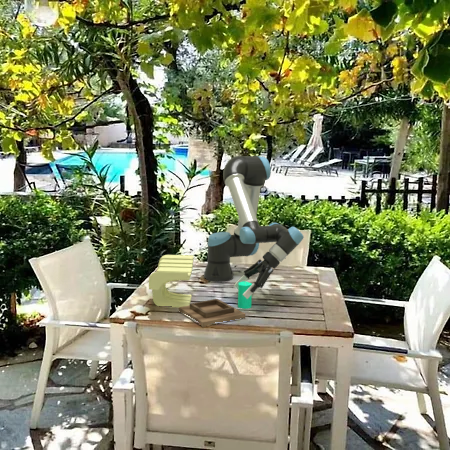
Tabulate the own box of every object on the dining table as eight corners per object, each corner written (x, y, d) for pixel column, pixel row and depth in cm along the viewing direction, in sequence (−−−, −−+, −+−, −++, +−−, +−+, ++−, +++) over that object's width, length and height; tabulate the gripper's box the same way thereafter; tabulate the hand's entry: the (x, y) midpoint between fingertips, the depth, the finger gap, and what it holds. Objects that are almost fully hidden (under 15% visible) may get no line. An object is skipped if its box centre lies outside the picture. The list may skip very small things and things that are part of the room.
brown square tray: (178, 311, 214) (178, 302, 214) (219, 304, 225) (219, 295, 224) (202, 327, 198) (203, 317, 197) (245, 318, 209) (245, 308, 208)
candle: (237, 304, 225) (237, 278, 223) (250, 304, 226) (251, 278, 224) (238, 308, 220) (239, 282, 217) (252, 308, 220) (253, 281, 218)
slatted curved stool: (159, 291, 242) (159, 254, 238) (193, 292, 241) (193, 255, 238) (148, 313, 212) (148, 271, 209) (187, 314, 212) (187, 272, 209)
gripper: (290, 269, 211) (255, 306, 210) (270, 255, 235) (238, 289, 234) (279, 257, 209) (243, 295, 208) (259, 244, 233) (227, 278, 232)
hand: (240, 292), depth 221 cm, fingers open, 13 cm apart
